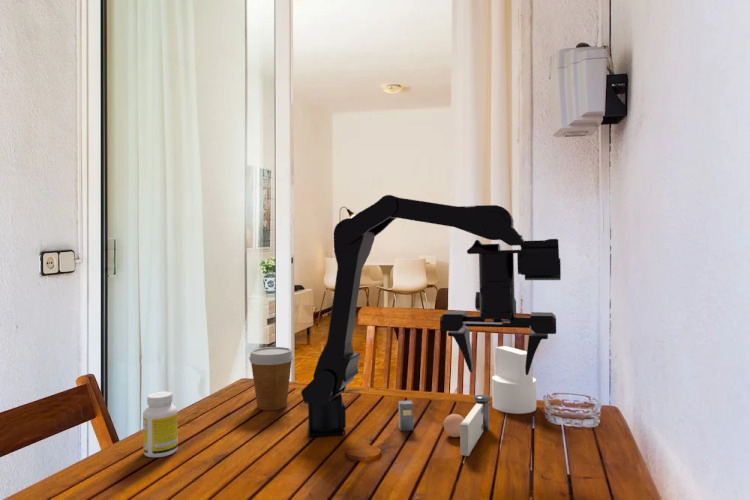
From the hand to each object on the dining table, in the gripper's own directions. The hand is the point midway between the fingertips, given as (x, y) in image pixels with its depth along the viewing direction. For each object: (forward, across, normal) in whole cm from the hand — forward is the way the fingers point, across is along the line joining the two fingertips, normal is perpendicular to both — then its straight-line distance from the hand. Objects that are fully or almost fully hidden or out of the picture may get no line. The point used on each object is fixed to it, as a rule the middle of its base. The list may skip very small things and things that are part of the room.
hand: (498, 372), depth 90 cm
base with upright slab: (+13, -1, -24) cm, 27 cm away
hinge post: (+13, +4, -8) cm, 16 cm away
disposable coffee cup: (+12, +49, -10) cm, 52 cm away
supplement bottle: (+12, +55, +18) cm, 59 cm away
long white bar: (+12, +5, -1) cm, 13 cm away
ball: (+13, +8, -3) cm, 15 cm away
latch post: (+13, +18, -5) cm, 22 cm away
